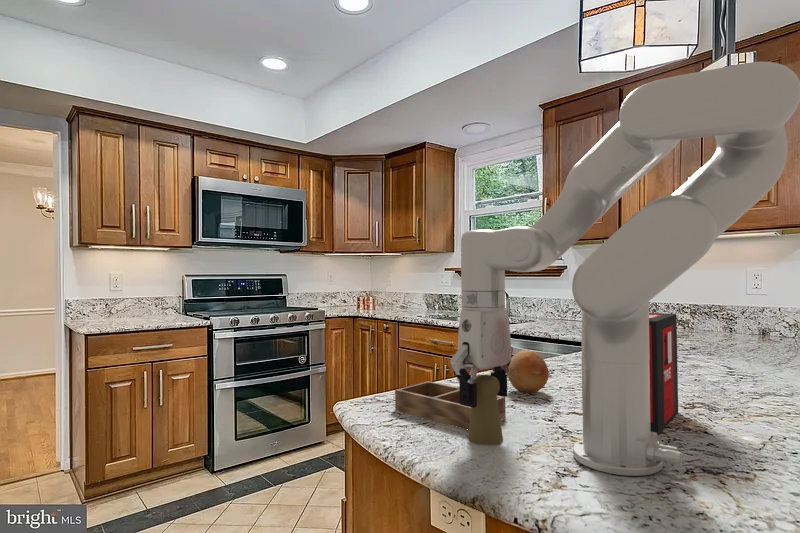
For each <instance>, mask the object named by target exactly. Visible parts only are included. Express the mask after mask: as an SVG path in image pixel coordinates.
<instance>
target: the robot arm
mask: <svg viewBox="0 0 800 533" xmlns="http://www.w3.org/2000/svg"><path fill="white" fill-rule="evenodd" d="M799 104H800V79H799V77H798V76H797V74H796V73H795V72H794V71H793V70H792V69H791V68H789V67H787V66H786V65H783V64H781V63H777V62H772V61H752V62H745V63H739V64H733V65H728V66H723V67H717V68H712V69H707V70H702V71H697V72H691V73H686V74H680V75H675V76H670V77H665V78H661V79H656V80H653V81H651V82H647V83H645V84H642V85H640V86H638V87H637V88H635V89H634V90H632V91H631V92H630V93H629V94H628V95H627V96H626V98H625V99H624V100H623V102H622V103H621V106H620V109H619V114H618V119H619V121H618V122H617V123H616V124H615V125H614V126H613V127H612V128H611V129H609V131H608V132H607V133H606V134H605V135H604V136H603V137H601V139H600V140H599V141H598V142H597V143H596V144H595V145H594V146H593V147H592V148H590V150H588V151H587V153H585V155H584V156H583V157H581V159H580V160H578V161H577V162H576V163H575V164H574V165H573V166H572V168H571V169H570V170H569V173H568V175H567V176H566V179H565V182H564V185H563V188H562V190H561V191H560V194H559V196H558V197H557V198H556V200H555V202H554V203H553V204H552V205H551V207H550V208H549V209H547V211H546V212H545V213H544V214H543V215H542V216H541V217H540V218H539V219H538V220H537V221H536V222H535V223H534V224H533V225H532V226H526V225H522V226H521V225H520V226H519V225H518V226H512V227H508V228H502V229H497V230H495V229H473V230H468V231H465V232H464V233H462V235H461V238H460V274H461V275H460V279H461V280H460V281H461V282H460V284H461V286H460V290H461V310H460V315H459V321H458V322H459V324H458V333H457V334H458V337H457V351H456V353H455V354H454V355H453V356H452V357H451V358H450V360H449V361H450V362H449V363H450V364H451V367H452V370H453V374H454V375H455V377H456V380H457V382H458V383H459V386H458V387H459V388H460V404H461V405H464V406H468V407H472V408H475V407H476V406H477V383H474V380H475V378H476V376H477V374H478V372H479V370H480V371H485V370H490V369H491V370H492V371H490V376H494V377H496V378H497V379H498V381H499V384H500V389H499V392H498V394H497V396H502V397H505V398H506V397H507V396H508V377H507V374H508V372H509V368H508V366H509V364H510V362H511V358H512V355H513V351H514V348H513V347H512V343H511V341H512V340H511V339H512V338H511V328H510V321H509V316H508V309H507V307H506V272H505V271H509V272H516V273H517V272H518V273H530V272H531V273H532V272H540V271H543V270H545V269H547V268H548V267H550V266H552V265H553V264H554V263H555V262H557V260H558V259H559V258H561V257H562V256H563V254H565V253H566V252H567V251H568V250H569V249H570V248H571V247H573V245H575V244H576V243H577V242H578V241H579V240H580V239H581V238H582V237H583V236H584V235H585V234H586V233H587V232H588V231H589V230H590V229H591V228H592V226H594V224H595V223H596V222H597V221H599V220H600V219H602V217H603V216H604V215H605V214H606V213H607V212H608V211H609V209H610V208H611V207H612V206H613V205H614V204H615V203H616V202H617V201H618V200H620V199H621V198H622V197H623V196H624V195H625V194H627V193H628V191H629V190H631V188H632V187H633V186H635V185H636V184H637V183H638V182H639V181H640V180H641V179H642V178H644V176H646V174H648V173H649V172H650V171H651V170H653V168H654V167H656V166H657V165H658V164H659V163H660V162H661V161H662V160H663V159H664V158H665V157H666V156H667V155H668V154H670V153H671V152H672V151H673V149H675V148H676V146H677V145H678V144H679V143H680V142H681V140H691V139H698V138H706V137H707V138H708V137H714V138H715V141H716V149H715V152H714V154H713V155H712V157H711V158H710V159H709V160H708V161H707V162H706V163H705V164H704V165H703V166H701V167H700V168H699V169H698V170H696V171H695V172H694V173H693V174H692V175H691V176H690V177H689V179H688V180H686V181H685V182H684V183H683V184H682V185H681V186H680V187H678V189H676V190H675V191H673V192H672V193H671V194H670V195H665V196H660V197H658V198H655V199H654V200H652V201H650V202H648V203H647V204H646V205H645V206H643V207H642V208H640V209H639V210H638V211H637V212H635V214H634V215H633V216H631V217H630V218H629V219H628V220H627V221H626V222H625V223H624V224H623V225H621V226H620V228H618V229H617V230H616V231H615V232H614V233H613V234H611V236H609V237H608V238H607V239H606V240H605V241H604V242H603V243H601V245H599V246H598V247H597V248H596V249H595V250H594V251H593V252H592V253H590V255H589V256H587V257H586V258H585V259H584V260H583V261H582V262H581V263H580V265H579V266H578V267H577V269H576V271H575V272H574V275H573V278H572V283H571V291H572V296H573V299H574V301H575V303H576V304H577V307H579V309H580V310H581V385H582V386H581V392H582V394H581V397H582V400H581V402H582V407H581V408H582V440H579V441H577V442H576V443H574V444H573V446H572V456H573V457H574V459H575V460H576V461H577V462H579V463H580V464H582V465H583V466H586V467H588V468H590V469H593V470H595V471H600V472H603V473H607V474H611V475H617V476H625V477H626V476H628V477H629V476H630V477H638V476H639V477H641V476H642V477H643V476H648V475H649V476H650V475H652V474H653V475H654V474H657V473H658V472H660V471H661V470H662V468H664V463H665V464H668V465H673V466H677V467H682V465H683V462H684V454H683V452H681V451H679V448H678V447H676V446H673V445H667V444H662V443H661V442H660V441H659V440H658V435H657V433H655V432H651V430H650V376H649V360H650V355H649V313H650V301H651V300H653V299H654V298H655V297H657V296H658V295H659V294H660V293H662V291H663V290H665V289H666V288H667V287H669V285H671V284H672V283H674V282H675V281H676V280H678V278H680V277H681V276H682V275H683V274H685V273H686V272H687V271H688V270H689V269H690V268H692V267H693V266H694V265H695V264H696V263H698V262H699V261H700V260H701V259H702V258H704V256H705V255H706V254H708V252H709V251H710V249H711V247H712V246H713V244H714V241H715V240H716V239H717V238H719V236H721V235H722V234H723V233H724V232H725V231H726V230H728V229H729V228H730V227H731V226H732V225H733V224H735V223H736V222H737V221H738V220H740V219H741V217H742V216H744V215H745V214H746V213H747V212H748V211H750V209H752V208H754V206H755V205H756V204H757V203H758V202H760V200H762V199H763V198H764V197H765V196H766V195H767V194H768V193H769V192H770V190H772V188H773V187H774V186H775V185H776V184H777V183H778V181H779V179H780V177H781V175H782V174H783V172H784V169H785V167H786V162H787V157H788V146H789V145H788V137H787V134H786V133H787V132H786V128H785V124H787V122H788V121H789V120H790V118H791V117H792V116H793V115H794V113H795V111H796V110H797V108H798V106H799ZM468 370H470V372H468Z"/></svg>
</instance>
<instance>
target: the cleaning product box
mask: <svg viewBox="0 0 800 533" xmlns="http://www.w3.org/2000/svg"><path fill="white" fill-rule="evenodd" d="M677 320H678V319H677V313H662V312H661V313H659V312H649V355H650V360H649V376H650V430H651V432H655V433H657V436H659V435H661V434H662V432H663V431H664V430H665V429H666V427H667V426H668V425H669V424H670V423H672V421H673V420H674V418H676V416H677V415H678V414H679V387H678V386H679V380H678V334H677V333H678V328H677V327H678V323H677Z"/></svg>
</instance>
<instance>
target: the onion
mask: <svg viewBox="0 0 800 533" xmlns="http://www.w3.org/2000/svg"><path fill="white" fill-rule="evenodd" d="M508 368H509V372H508V374H507V380H509V382H510V384H511V386H512V387H513V388H514V389H515V390H516V391H519V392H525V393H528V394H535V393H537V392H539V391H540V390H541V389H542V388H544V387H545V386H546V384H547V383H548V380H549V376H550V375H549V374H550V372H549V368H548V365H547V363H546V361H545V360H544V358H543V357H542V356H541V355H540V354H539V353H537V352H535V351H533V350H530V349H523V350H519V351H518V352H517V353H515V354H514V355H513V356H511V362H510V364H509V366H508Z"/></svg>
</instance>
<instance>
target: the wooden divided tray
mask: <svg viewBox="0 0 800 533" xmlns="http://www.w3.org/2000/svg"><path fill="white" fill-rule="evenodd" d="M394 400H395V401H394V403H395V404H394V408H395V409H394V410H395V411H399V412H402V413H406V414H411V415H413V416H416V417H420V418H424V419H427V420H431V421H435V422H438V423H442V424H445V425H448V424H449V426H452V425H453V426H452V427H456V426H457V427H456V428H459V427H461V428H460V429H463V428H464V430H466V429H468V430H467V431H469V424H470V416H471V407H468V406H464V405H461V404H460V388H459V386H454V385H448V384H443V383H439V382H435V381H430V380H428V381H425V382H419V383H416V384H412V385H408V386H405V387H401V388H398V389H395V390H394ZM497 402H498V408H499V415H500V421H502V419H503V420H505V419H506V416H507V415H506V397H502V396H497Z"/></svg>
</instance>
